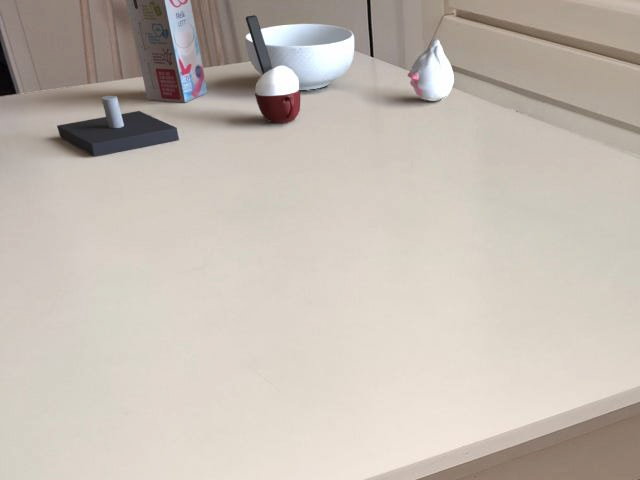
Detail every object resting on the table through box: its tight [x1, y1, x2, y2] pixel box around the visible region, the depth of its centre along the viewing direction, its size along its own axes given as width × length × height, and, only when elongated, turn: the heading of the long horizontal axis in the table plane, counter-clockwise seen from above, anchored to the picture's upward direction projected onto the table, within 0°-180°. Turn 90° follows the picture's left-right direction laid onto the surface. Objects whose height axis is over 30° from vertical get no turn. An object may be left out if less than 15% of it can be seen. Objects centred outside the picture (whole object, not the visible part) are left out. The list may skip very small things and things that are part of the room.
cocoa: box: [245, 14, 301, 124], centre depth 127 cm, size 10×6×12 cm, turn 12°
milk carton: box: [124, 0, 208, 104], centre depth 134 cm, size 7×7×22 cm
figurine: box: [407, 38, 455, 99], centre depth 136 cm, size 6×7×8 cm
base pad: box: [56, 95, 180, 157], centre depth 123 cm, size 12×12×5 cm
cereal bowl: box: [244, 23, 355, 90], centre depth 144 cm, size 17×17×7 cm
